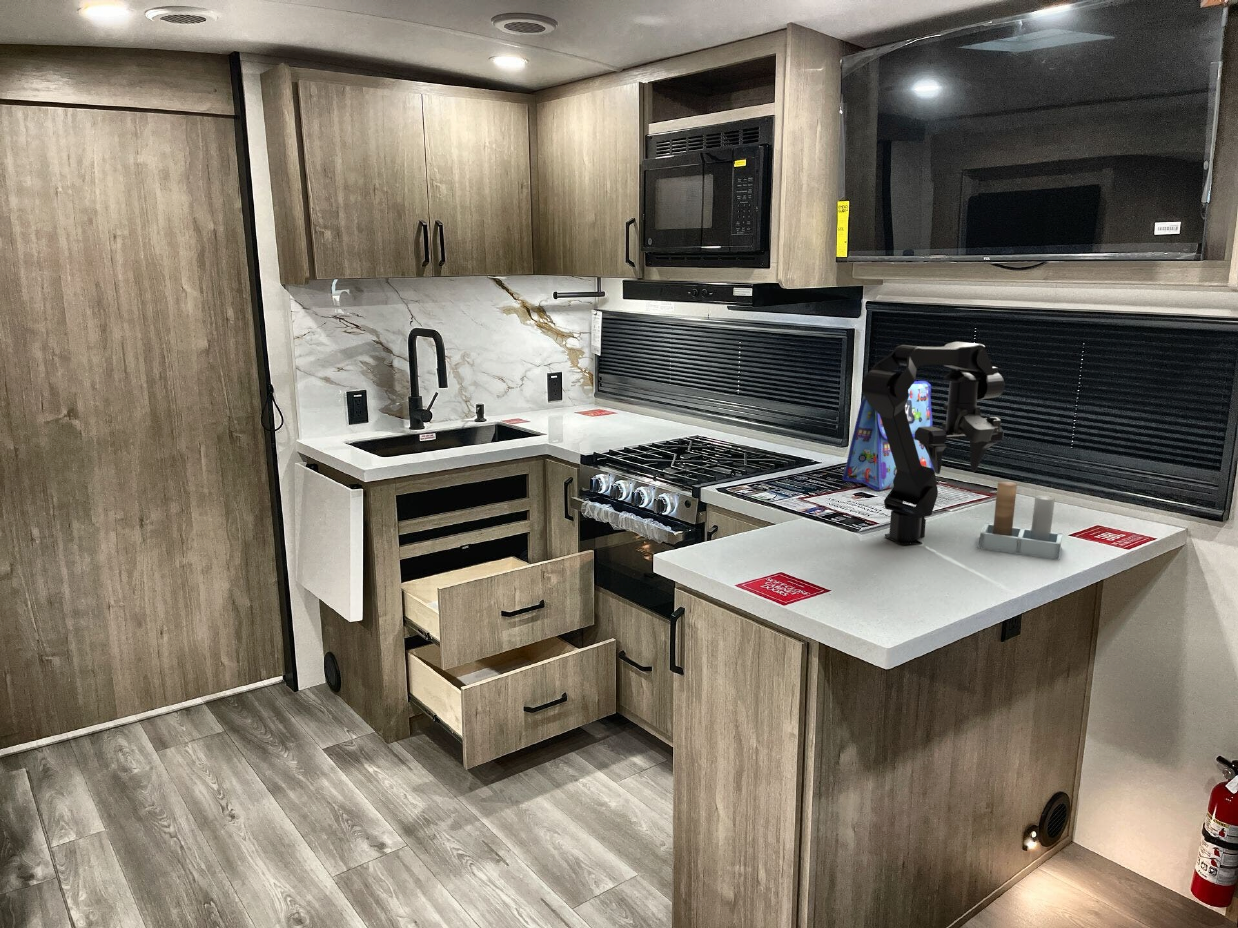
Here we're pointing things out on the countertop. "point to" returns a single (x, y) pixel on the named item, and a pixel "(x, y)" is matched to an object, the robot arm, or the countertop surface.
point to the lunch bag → (885, 440)
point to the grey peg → (1042, 518)
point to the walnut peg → (1004, 508)
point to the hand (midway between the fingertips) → (955, 472)
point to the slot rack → (1020, 543)
